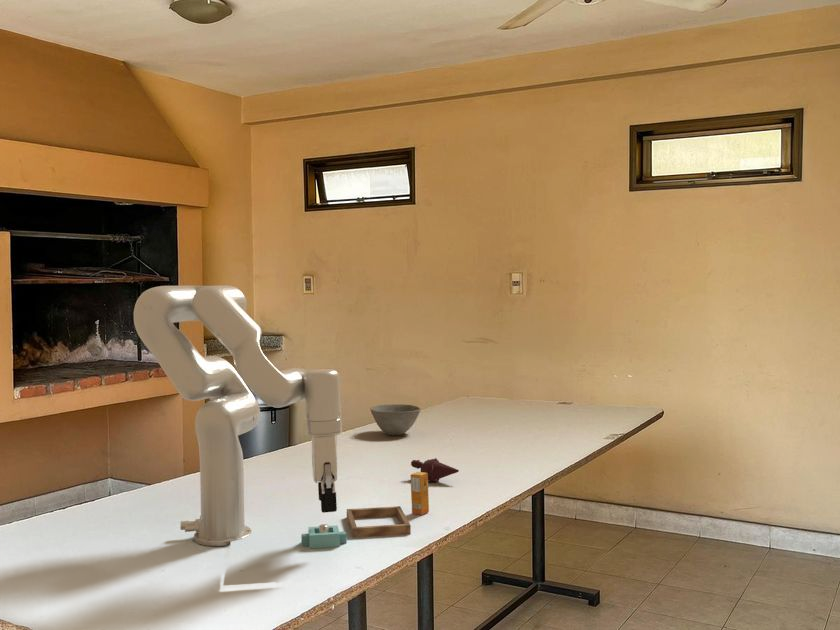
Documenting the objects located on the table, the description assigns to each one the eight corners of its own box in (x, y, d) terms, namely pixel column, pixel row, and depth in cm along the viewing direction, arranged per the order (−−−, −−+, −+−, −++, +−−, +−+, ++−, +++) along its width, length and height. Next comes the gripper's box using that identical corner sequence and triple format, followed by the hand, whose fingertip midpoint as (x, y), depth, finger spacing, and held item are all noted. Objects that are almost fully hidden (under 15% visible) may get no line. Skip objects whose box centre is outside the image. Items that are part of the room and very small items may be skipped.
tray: (352, 541, 177) (352, 528, 177) (346, 521, 192) (346, 509, 192) (410, 538, 180) (410, 525, 179) (400, 518, 194) (400, 506, 194)
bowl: (420, 439, 288) (420, 411, 288) (368, 439, 288) (368, 411, 288) (421, 429, 307) (421, 403, 306) (372, 429, 307) (372, 403, 307)
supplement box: (417, 510, 201) (417, 470, 201) (429, 512, 199) (429, 472, 199) (410, 513, 198) (410, 473, 198) (421, 515, 196) (421, 475, 196)
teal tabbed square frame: (302, 548, 170) (302, 535, 170) (301, 540, 175) (301, 527, 175) (347, 546, 172) (347, 533, 171) (344, 537, 177) (344, 524, 177)
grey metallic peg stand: (312, 552, 171) (312, 530, 170) (311, 544, 176) (311, 522, 175) (336, 550, 171) (336, 528, 171) (335, 542, 177) (334, 521, 176)
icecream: (463, 458, 230) (416, 458, 236) (453, 457, 223) (405, 457, 229) (463, 483, 228) (415, 482, 234) (453, 482, 222) (404, 482, 228)
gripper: (305, 421, 180) (308, 496, 181) (308, 435, 163) (312, 518, 164) (338, 419, 181) (341, 494, 182) (345, 432, 164) (348, 515, 165)
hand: (327, 505), depth 173 cm, fingers open, 9 cm apart
